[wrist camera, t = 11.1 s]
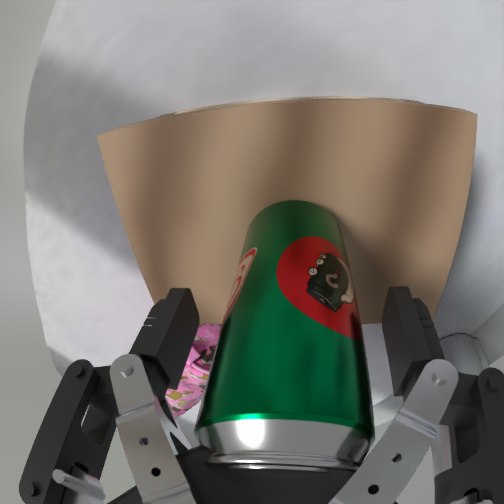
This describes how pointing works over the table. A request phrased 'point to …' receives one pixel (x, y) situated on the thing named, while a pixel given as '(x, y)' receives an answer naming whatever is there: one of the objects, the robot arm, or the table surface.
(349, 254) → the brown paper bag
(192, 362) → the pencil case
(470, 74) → the table surface
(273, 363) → the soda can
